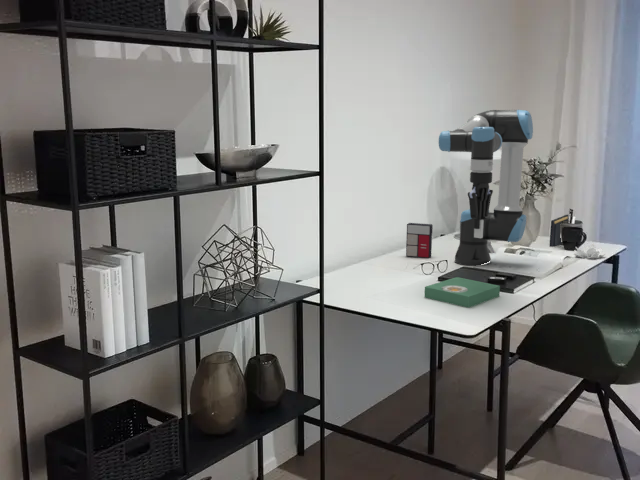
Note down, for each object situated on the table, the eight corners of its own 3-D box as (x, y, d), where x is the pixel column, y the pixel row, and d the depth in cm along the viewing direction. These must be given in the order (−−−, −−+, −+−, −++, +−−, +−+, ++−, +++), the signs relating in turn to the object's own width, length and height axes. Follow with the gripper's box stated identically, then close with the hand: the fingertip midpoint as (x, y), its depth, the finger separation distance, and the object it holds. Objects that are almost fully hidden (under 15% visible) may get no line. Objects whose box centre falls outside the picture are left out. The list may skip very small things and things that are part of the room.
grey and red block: (405, 256, 301) (406, 224, 298) (408, 254, 305) (408, 222, 302) (429, 258, 296) (430, 225, 294) (431, 256, 300) (432, 224, 298)
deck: (424, 297, 235) (424, 286, 234) (456, 287, 248) (456, 276, 248) (468, 308, 222) (468, 296, 221) (499, 296, 236) (499, 285, 235)
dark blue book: (552, 251, 313) (555, 219, 310) (548, 250, 314) (551, 219, 311) (568, 245, 328) (571, 214, 325) (564, 244, 329) (567, 214, 326)
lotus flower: (606, 267, 280) (608, 247, 279) (568, 264, 286) (570, 244, 285) (606, 260, 293) (608, 241, 292) (570, 258, 299) (572, 239, 297)
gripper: (480, 173, 225) (477, 241, 230) (500, 170, 234) (497, 236, 239) (461, 171, 231) (459, 238, 235) (482, 169, 240) (479, 233, 244)
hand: (478, 237), depth 237 cm, fingers closed
